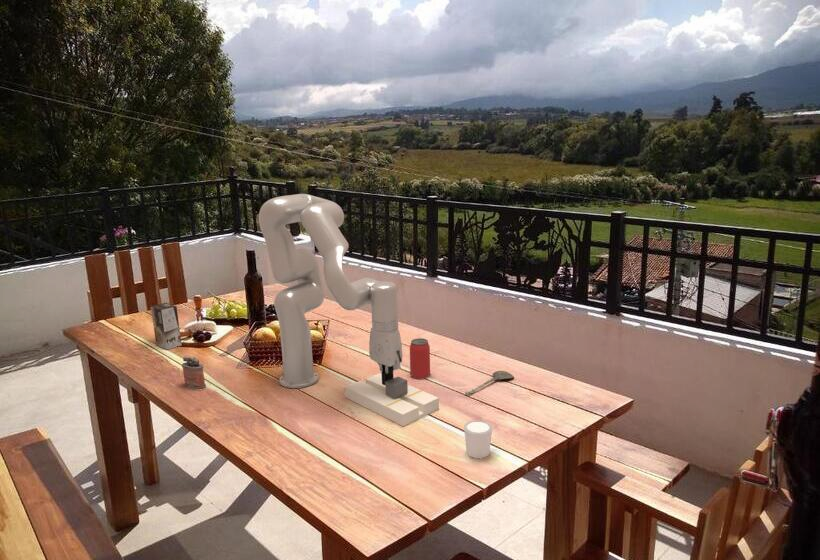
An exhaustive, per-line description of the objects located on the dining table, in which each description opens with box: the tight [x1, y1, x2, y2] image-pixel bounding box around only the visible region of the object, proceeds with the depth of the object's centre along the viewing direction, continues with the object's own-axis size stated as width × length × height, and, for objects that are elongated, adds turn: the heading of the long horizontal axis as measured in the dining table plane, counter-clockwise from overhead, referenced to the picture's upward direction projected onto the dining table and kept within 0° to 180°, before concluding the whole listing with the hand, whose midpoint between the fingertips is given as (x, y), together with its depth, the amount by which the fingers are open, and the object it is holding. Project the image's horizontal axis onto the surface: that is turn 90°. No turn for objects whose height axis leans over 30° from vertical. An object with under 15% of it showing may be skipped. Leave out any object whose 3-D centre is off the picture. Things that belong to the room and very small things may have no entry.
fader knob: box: [385, 376, 408, 398], centre depth 164 cm, size 4×5×6 cm
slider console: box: [344, 372, 440, 427], centre depth 167 cm, size 26×14×4 cm, turn 43°
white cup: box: [463, 420, 493, 459], centre depth 139 cm, size 7×7×7 cm
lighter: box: [181, 356, 207, 390], centre depth 181 cm, size 8×3×10 cm, turn 65°
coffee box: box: [150, 302, 183, 351], centre depth 219 cm, size 9×6×16 cm
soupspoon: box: [464, 370, 515, 397], centre depth 178 cm, size 22×3×7 cm
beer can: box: [409, 337, 431, 380], centre depth 185 cm, size 7×7×12 cm
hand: (387, 383), depth 167 cm, fingers closed
